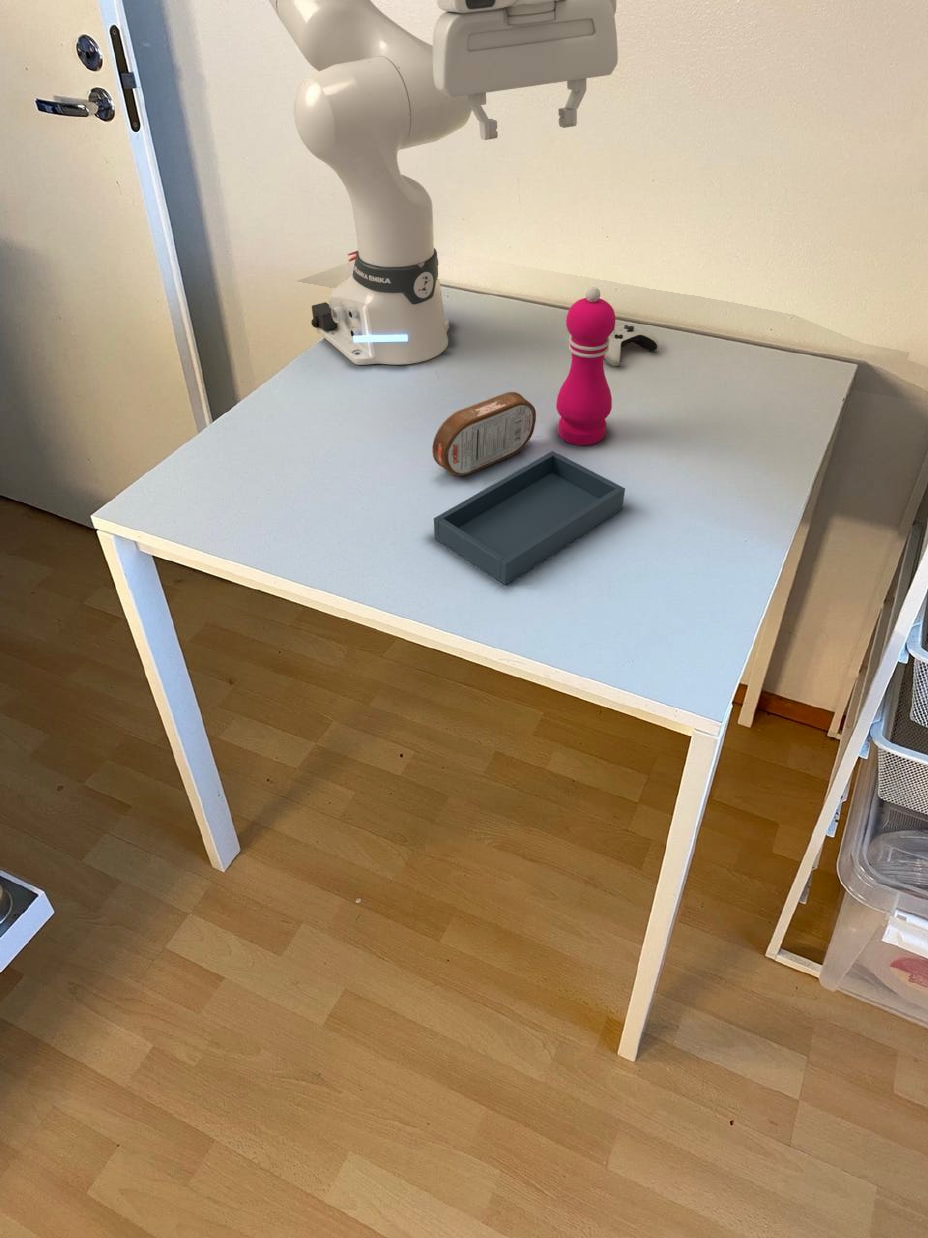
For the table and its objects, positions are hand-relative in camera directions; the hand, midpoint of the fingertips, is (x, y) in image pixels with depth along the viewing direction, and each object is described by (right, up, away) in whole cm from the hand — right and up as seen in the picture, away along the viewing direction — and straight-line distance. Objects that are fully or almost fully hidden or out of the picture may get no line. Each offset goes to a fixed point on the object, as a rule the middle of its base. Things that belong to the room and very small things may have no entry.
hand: (528, 132), depth 102 cm
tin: (-4, -34, +16) cm, 38 cm away
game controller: (+17, -14, +38) cm, 44 cm away
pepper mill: (+9, -29, +21) cm, 37 cm away
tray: (+1, -43, +6) cm, 43 cm away
